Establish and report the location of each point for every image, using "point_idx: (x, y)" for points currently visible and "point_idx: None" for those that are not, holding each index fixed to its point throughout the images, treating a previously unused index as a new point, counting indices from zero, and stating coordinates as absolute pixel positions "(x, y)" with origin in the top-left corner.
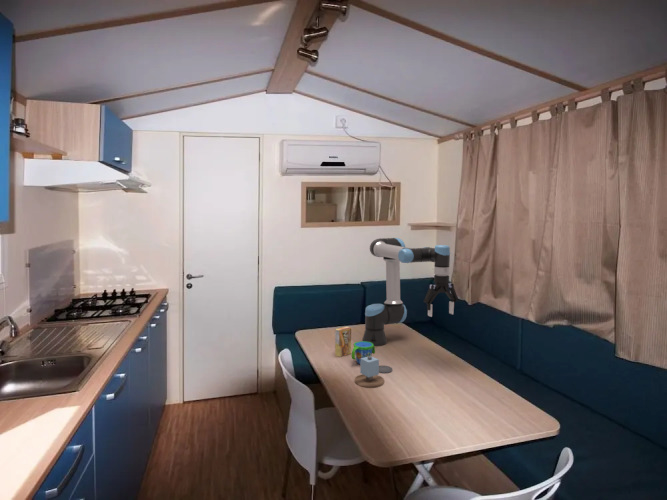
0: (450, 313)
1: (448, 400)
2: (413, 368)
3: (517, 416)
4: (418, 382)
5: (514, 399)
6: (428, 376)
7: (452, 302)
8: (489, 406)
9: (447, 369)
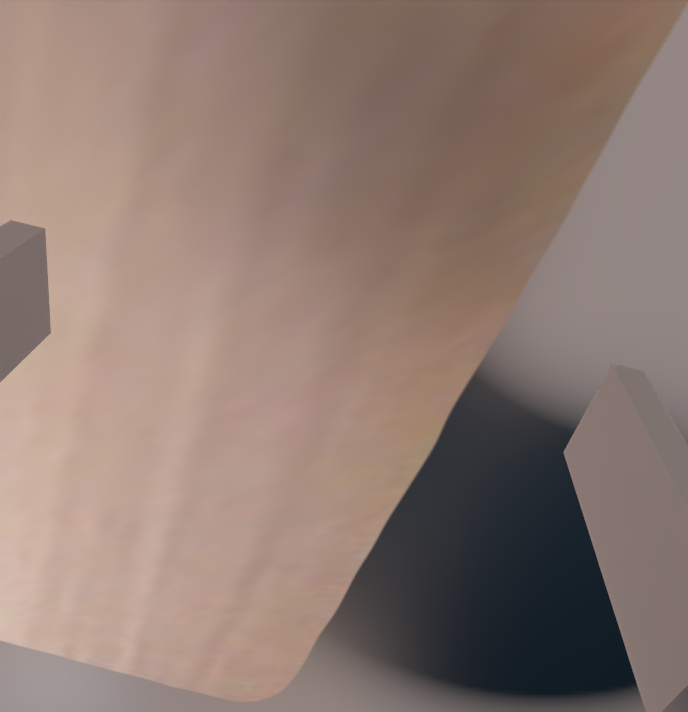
0: (588, 408)
1: (46, 462)
2: (122, 42)
3: (203, 638)
4: None
5: (315, 595)
6: (134, 228)
7: (649, 708)
8: (172, 568)
9: (347, 227)
